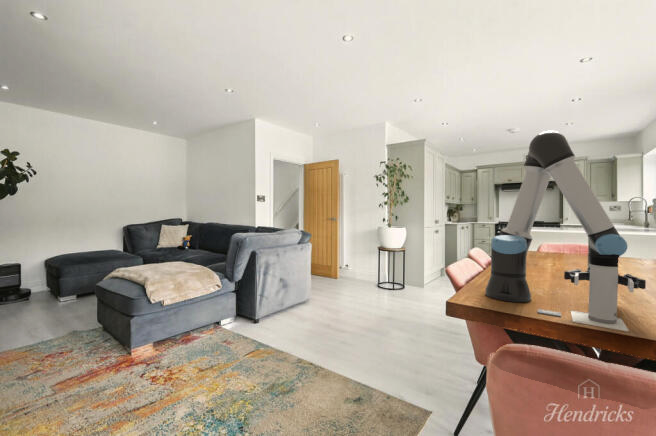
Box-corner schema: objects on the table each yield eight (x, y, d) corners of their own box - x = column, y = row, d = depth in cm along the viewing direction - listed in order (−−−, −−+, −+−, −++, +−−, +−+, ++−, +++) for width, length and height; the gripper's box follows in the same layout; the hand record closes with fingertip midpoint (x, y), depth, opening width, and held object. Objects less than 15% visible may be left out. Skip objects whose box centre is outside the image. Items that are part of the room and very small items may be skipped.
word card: (537, 313, 98) (537, 311, 98) (537, 310, 101) (537, 308, 101) (560, 317, 94) (560, 315, 94) (560, 313, 97) (560, 312, 97)
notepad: (572, 321, 90) (572, 320, 90) (570, 311, 100) (570, 310, 100) (628, 331, 83) (628, 330, 83) (620, 319, 92) (620, 318, 92)
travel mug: (623, 325, 87) (625, 256, 86) (596, 323, 88) (599, 255, 88) (608, 317, 93) (610, 253, 92) (583, 316, 94) (585, 252, 94)
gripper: (651, 289, 96) (662, 305, 80) (558, 278, 112) (552, 289, 95) (651, 266, 96) (663, 277, 80) (558, 258, 112) (552, 265, 95)
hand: (602, 283), depth 87 cm, fingers open, 11 cm apart
